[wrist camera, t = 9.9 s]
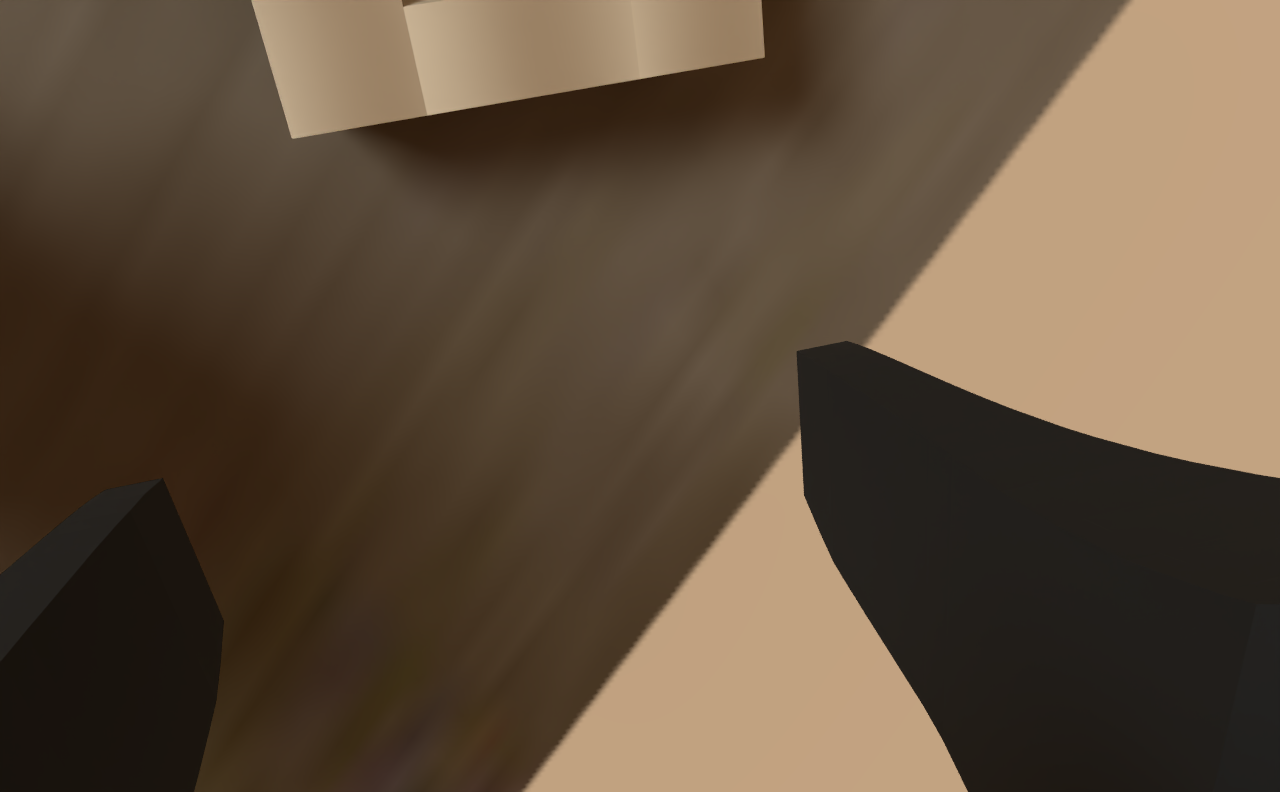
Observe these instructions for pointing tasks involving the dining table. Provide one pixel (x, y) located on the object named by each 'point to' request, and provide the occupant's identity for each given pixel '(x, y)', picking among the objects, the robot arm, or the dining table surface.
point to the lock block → (482, 51)
